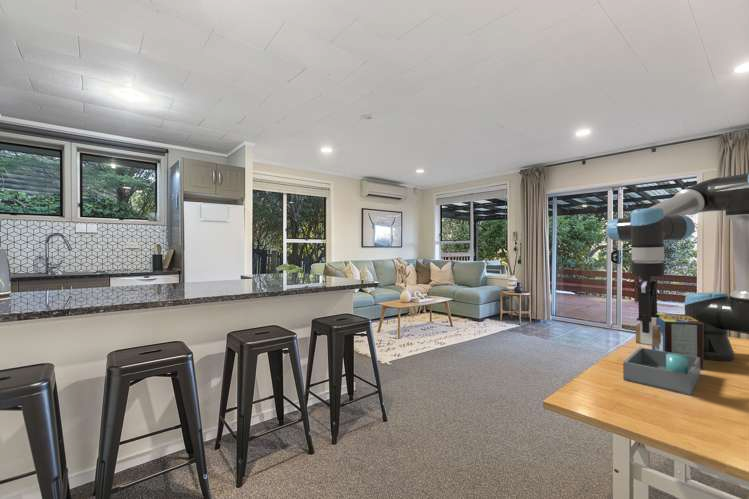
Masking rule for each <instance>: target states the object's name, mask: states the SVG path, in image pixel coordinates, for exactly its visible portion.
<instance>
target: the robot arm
mask: <svg viewBox="0 0 749 499" xmlns="http://www.w3.org/2000/svg"><path fill="white" fill-rule="evenodd" d="M719 211H720V212H722V211H725V216H726V217H727V218H728V219H729V220H731V221H732V222H731V223H732V238H733V240H732V242H733V258H734V259H733V261H734V281H735V289H734V290H733V291H732V292H731V293H730V294H728V293H727V292H715V291H714V292H692V293H690V292H689V293H688V294H686V295H685V297H684V304H683V305H684V314H685V315H688V316H690V317H692V318H694V319H696V320H698V321H700V322H702V323H703V360H711V361H725V362H726V361H727V362H728V361H733V360H734V359H735V351H734V350H733V346H732V344H731V342H730V339H729V337H728V334H729V333H728V331H729V332H734V333H739V334H746V335H749V172H748V173H743V174H734V175H729V176H728V175H727V176H723V177H722V176H721V177H715V178H711V179H707V180H704V181H700V182H698V183H696V184H693V185H689V187H686V188H683V189H682V190H680V191H677V192H676V193H675V195H674V196H673V197H670V198H667V199H665V200H664V201H661V202H659V203H656V204H655V205H653V206H650V207H647V208H636V209H634V210H632V211H631V213H630V215H629V216H627V217H623V218H620V217H619V218H613V219H611V220H609V221H608V223H607V225H606V228H605V231H606V236H607V237H608V238H609V239H610V240H611V241H617V242H618V241H620V242H625V241H626V242H629V241H630V242H631V246H630V248H631V250H629V251H628V253H629V254H631V261H633V262H632V263H631V275H633V276H637V277H638V276H639V277H640V281H638V283H637V294H638V296H637V297H638V298H637V299H638V302H637V304H638V308H637V309H638V317H637V318H636V321H639V323H640V343H644V344H650V345H653V329H652V328H653V325H656V318H654V317H657V318H659V315H657V313H659V312H658V296H657V295H658V281H657V280H656V279H655V277H663V276H664V275H665V263H663V261H665V241H680V240H685V239H688V238H690V237H691V235H693V234H694V231H695V228H696V226H695V223H694V221H693V220H692V218H690V217H689V216H694V215H698V214H699V213H705V212H706V213H707V212H719ZM644 344H643V345H644ZM650 345H649V346H650Z"/></svg>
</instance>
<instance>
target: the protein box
mask: <svg viewBox="0 0 749 499" xmlns="http://www.w3.org/2000/svg"><path fill="white" fill-rule="evenodd" d="M657 315H659V318H657V317H654V318H656V325H661V343H660V344H659V345H658V347H657V346H651V349H653V350H659V351H665V352H670V353H676V354H682V355H688V356H694V357H699V358H700V370H704V359H703V323H702V322H700V321H698V320H696V319H694V318H692V317H690V316H688V315H685V313H681V314H679V313H666V312H665V313H664V312H663V313H661V312H658V313H657Z"/></svg>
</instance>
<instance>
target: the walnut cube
mask: <svg viewBox="0 0 749 499" xmlns="http://www.w3.org/2000/svg"><path fill="white" fill-rule="evenodd" d="M652 329H653V345H650V344H644V343H640V322H639V323H638V324H636V325H635V344H639V345H646V346H650V347H652V346H657V347H658V345H659V344H660V343H661V325H653V328H652Z"/></svg>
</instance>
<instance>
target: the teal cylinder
mask: <svg viewBox="0 0 749 499" xmlns="http://www.w3.org/2000/svg"><path fill="white" fill-rule="evenodd" d="M666 370H669V371H674V372H679V373H684V374H688V357H686V356H684V355H680V354H671V353H669V354H666Z"/></svg>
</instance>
